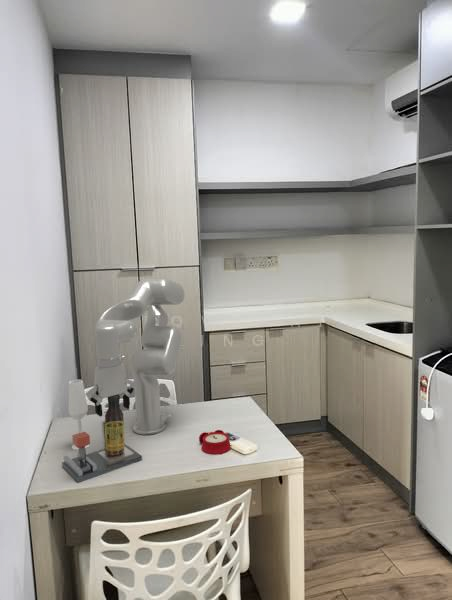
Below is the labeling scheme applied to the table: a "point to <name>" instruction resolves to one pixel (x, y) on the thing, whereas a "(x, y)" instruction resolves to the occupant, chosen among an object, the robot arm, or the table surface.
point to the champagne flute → (77, 403)
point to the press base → (100, 461)
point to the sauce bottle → (114, 427)
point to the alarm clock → (215, 442)
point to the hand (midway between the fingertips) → (113, 411)
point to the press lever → (82, 449)
